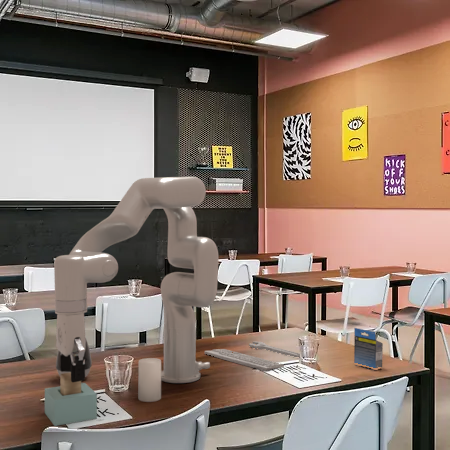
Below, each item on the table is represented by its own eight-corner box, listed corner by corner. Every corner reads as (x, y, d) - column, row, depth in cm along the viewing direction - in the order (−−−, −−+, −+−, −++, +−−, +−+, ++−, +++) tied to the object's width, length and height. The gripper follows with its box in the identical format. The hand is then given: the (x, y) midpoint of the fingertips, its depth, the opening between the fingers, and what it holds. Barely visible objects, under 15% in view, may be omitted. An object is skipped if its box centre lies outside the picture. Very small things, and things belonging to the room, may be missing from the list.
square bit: (76, 411, 142) (76, 371, 142) (80, 416, 139) (81, 375, 139) (60, 414, 140) (60, 373, 140) (64, 419, 137) (64, 378, 137)
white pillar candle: (155, 393, 157) (155, 357, 157) (164, 399, 152) (164, 362, 152) (135, 396, 154) (135, 359, 154) (143, 403, 149) (143, 364, 149)
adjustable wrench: (305, 359, 197) (306, 354, 197) (292, 362, 193) (292, 357, 193) (258, 345, 216) (258, 340, 216) (244, 347, 213) (245, 342, 212)
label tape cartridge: (383, 369, 184) (383, 330, 183) (375, 371, 181) (375, 332, 181) (361, 363, 191) (361, 326, 190) (353, 364, 188) (353, 327, 188)
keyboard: (287, 367, 186) (287, 361, 186) (266, 373, 179) (266, 367, 179) (225, 351, 207) (225, 345, 207) (204, 356, 200) (204, 350, 200)
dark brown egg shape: (80, 371, 177) (80, 322, 177) (97, 379, 170) (98, 328, 169) (49, 378, 170) (49, 327, 170) (66, 386, 163) (66, 333, 162)
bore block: (84, 406, 146) (84, 382, 146) (96, 418, 138) (96, 393, 138) (44, 412, 141) (44, 388, 141) (54, 426, 133) (54, 400, 133)
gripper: (47, 302, 145) (48, 369, 145) (64, 313, 130) (66, 388, 130) (76, 299, 148) (77, 364, 149) (97, 310, 133) (98, 382, 134)
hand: (72, 375), depth 140 cm, fingers open, 9 cm apart
